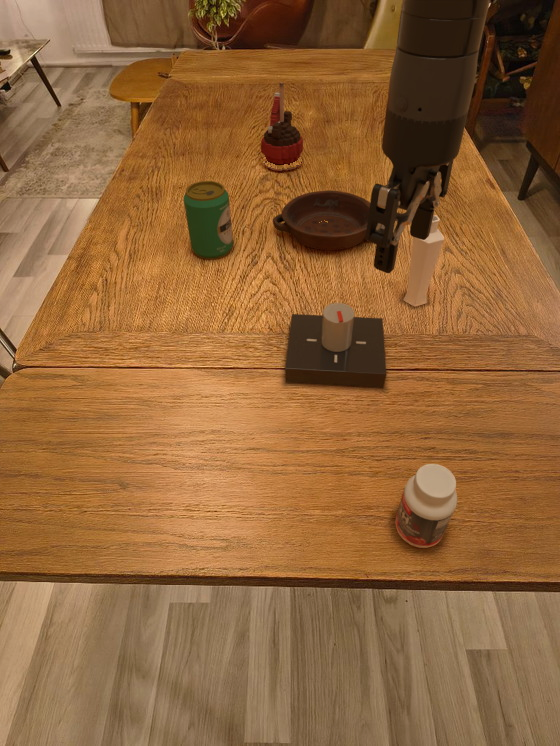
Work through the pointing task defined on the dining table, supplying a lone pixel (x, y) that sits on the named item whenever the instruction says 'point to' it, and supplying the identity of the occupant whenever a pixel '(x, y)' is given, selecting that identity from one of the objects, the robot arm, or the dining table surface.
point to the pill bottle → (426, 506)
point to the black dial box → (336, 354)
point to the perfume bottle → (423, 264)
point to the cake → (281, 136)
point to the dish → (332, 206)
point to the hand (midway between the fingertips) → (401, 252)
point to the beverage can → (208, 219)
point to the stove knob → (337, 327)
